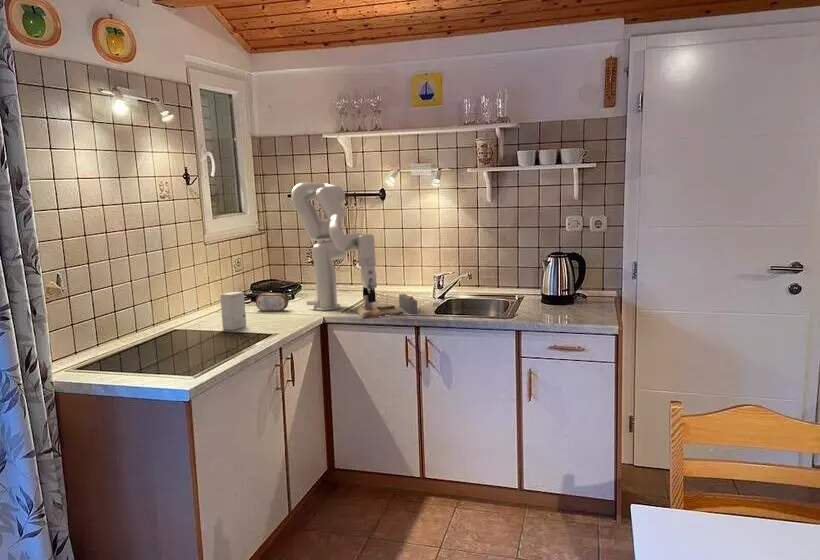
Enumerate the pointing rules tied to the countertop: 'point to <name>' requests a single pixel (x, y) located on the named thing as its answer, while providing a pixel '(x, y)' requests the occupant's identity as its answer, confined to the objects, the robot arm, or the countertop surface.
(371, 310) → the post on wide base
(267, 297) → the tin
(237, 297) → the skincare box
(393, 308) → the track
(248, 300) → the countertop surface
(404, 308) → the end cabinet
